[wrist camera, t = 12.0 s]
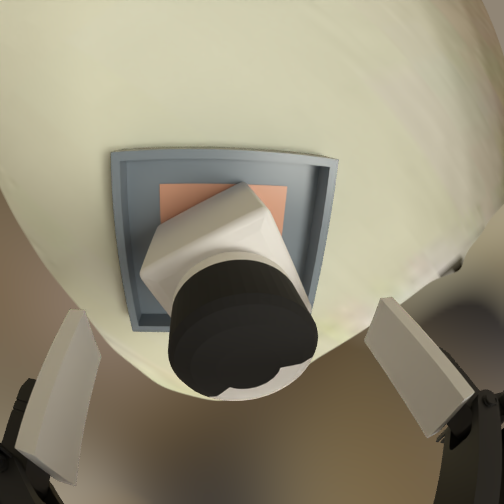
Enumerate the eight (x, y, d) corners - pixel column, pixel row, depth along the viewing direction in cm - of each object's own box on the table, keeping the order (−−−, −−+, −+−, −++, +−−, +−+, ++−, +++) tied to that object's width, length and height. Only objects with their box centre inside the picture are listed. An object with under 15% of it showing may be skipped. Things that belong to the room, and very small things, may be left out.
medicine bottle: (155, 225, 19) (112, 343, 8) (244, 179, 19) (308, 251, 8) (203, 298, 22) (214, 430, 11) (282, 259, 22) (350, 374, 11)
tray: (121, 149, 17) (110, 152, 15) (323, 155, 20) (338, 159, 17) (137, 313, 23) (132, 331, 20) (299, 308, 25) (308, 324, 23)
